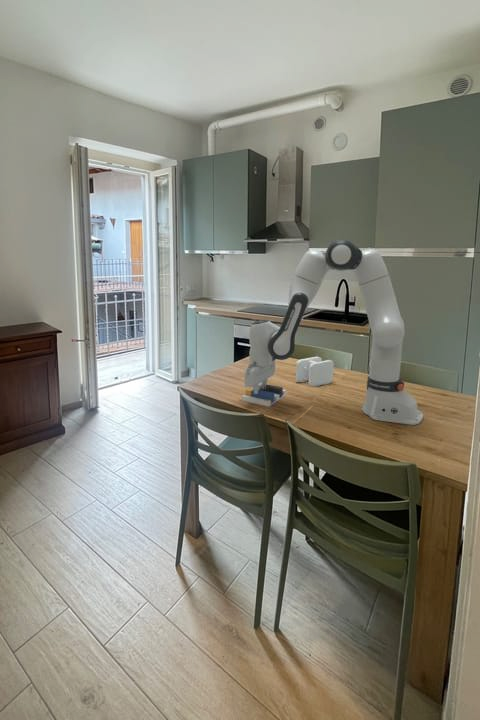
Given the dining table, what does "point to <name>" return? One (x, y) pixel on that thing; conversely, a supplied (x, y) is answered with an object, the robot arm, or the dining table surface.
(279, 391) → the dark grey square rod
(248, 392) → the blue bar yellow end
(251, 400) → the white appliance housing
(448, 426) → the dining table surface
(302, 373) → the cable organizer
